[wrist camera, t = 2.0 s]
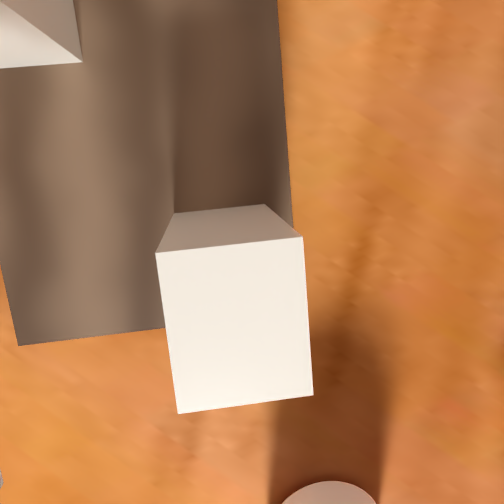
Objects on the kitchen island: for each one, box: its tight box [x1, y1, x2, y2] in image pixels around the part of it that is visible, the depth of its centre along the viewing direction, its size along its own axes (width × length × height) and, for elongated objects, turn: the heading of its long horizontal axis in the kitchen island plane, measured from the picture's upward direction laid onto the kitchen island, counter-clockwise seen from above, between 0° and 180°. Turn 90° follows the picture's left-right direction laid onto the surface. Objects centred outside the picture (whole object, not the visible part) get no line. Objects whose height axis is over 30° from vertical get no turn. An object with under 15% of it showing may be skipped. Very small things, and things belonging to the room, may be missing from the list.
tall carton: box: [155, 204, 313, 414], centre depth 21 cm, size 5×6×10 cm
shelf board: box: [0, 0, 293, 346], centre depth 24 cm, size 16×22×3 cm
